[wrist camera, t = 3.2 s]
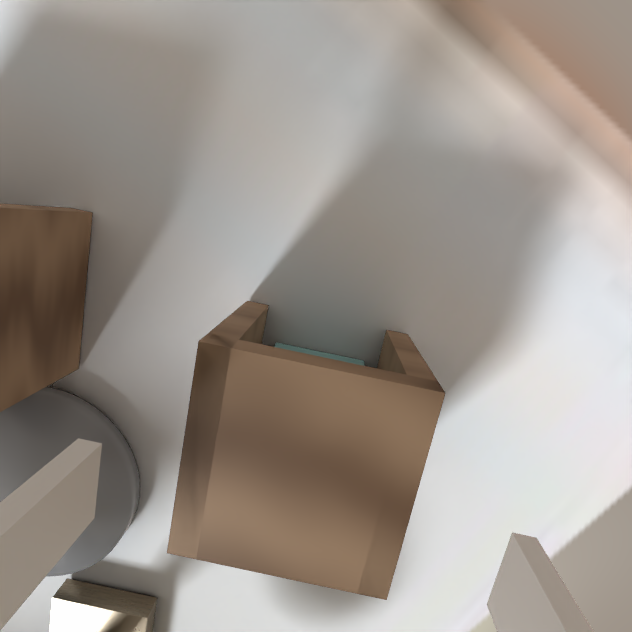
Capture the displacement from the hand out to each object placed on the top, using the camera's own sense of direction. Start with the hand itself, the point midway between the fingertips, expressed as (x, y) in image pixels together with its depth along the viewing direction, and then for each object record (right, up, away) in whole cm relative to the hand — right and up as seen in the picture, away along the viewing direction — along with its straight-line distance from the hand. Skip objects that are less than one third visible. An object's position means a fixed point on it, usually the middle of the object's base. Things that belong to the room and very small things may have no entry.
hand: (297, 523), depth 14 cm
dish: (-16, -3, +13) cm, 21 cm away
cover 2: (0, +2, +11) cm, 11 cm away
